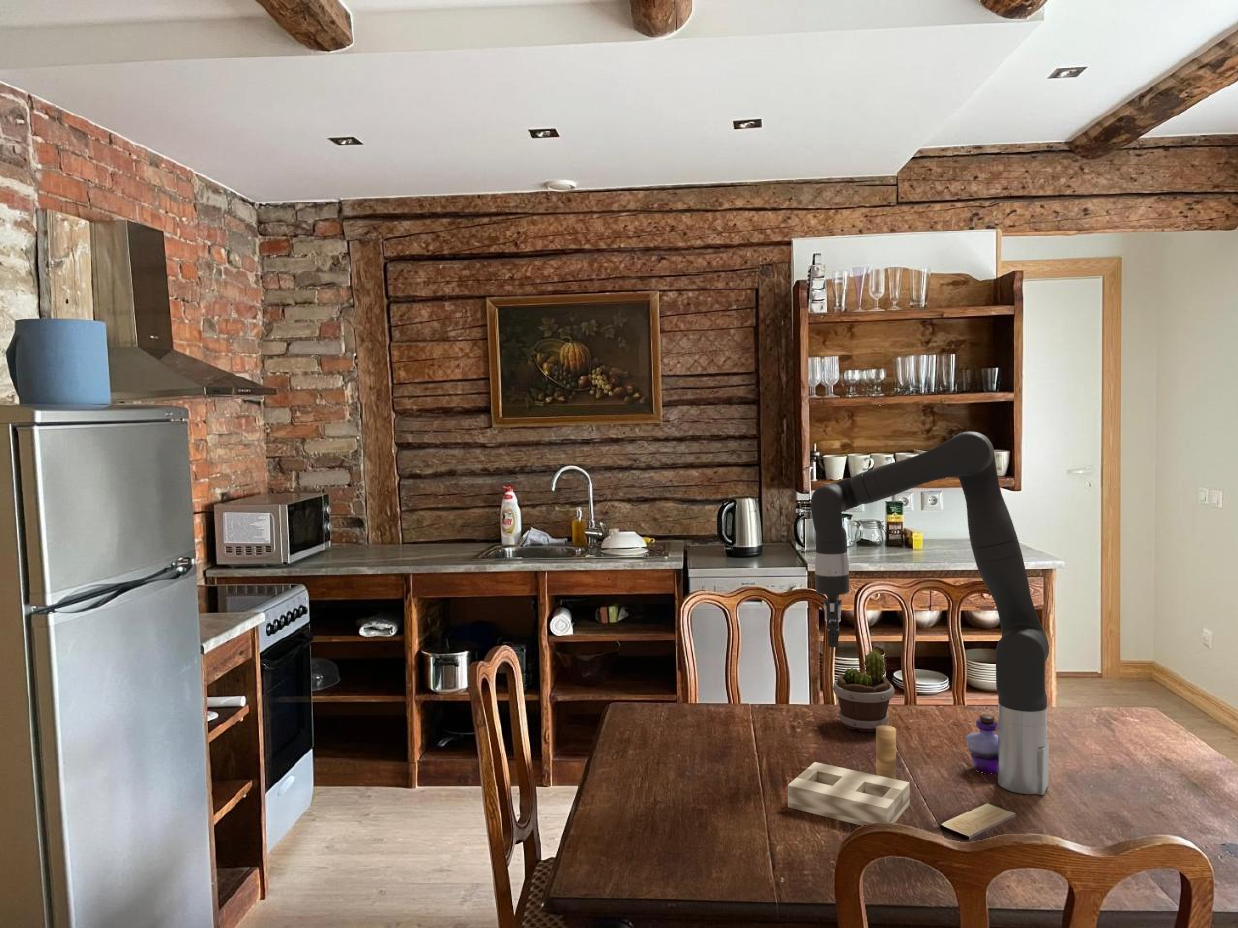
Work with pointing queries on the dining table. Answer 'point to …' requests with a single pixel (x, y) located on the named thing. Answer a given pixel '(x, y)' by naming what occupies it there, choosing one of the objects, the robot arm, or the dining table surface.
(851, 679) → the flowerpot
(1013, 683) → the robot arm
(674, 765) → the dining table surface
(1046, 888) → the dining table surface
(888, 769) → the peg
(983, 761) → the potion bottle
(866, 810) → the hole block
